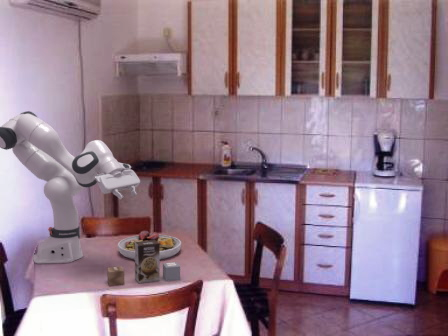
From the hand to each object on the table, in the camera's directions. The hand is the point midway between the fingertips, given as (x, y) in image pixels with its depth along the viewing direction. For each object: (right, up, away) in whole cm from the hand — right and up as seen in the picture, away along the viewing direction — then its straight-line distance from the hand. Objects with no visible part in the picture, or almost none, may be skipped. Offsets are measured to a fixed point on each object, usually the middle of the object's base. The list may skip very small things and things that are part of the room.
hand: (128, 197), depth 245 cm
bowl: (+5, -29, +34) cm, 45 cm away
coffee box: (+8, -35, -3) cm, 36 cm away
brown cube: (-4, -35, -7) cm, 36 cm away
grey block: (+18, -34, -1) cm, 39 cm away
